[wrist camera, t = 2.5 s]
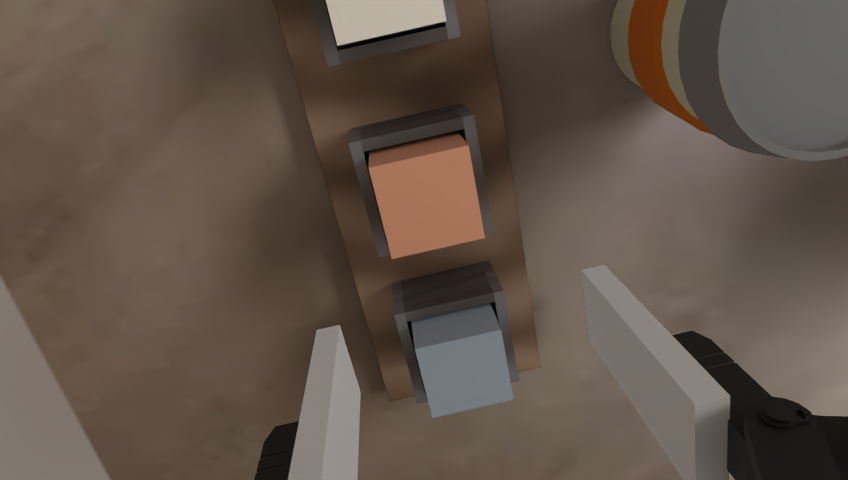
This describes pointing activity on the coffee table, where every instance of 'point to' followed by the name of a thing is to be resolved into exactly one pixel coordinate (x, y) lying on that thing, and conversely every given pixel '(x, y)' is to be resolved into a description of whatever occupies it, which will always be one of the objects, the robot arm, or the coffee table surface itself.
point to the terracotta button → (426, 194)
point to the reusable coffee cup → (744, 69)
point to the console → (402, 122)
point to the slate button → (462, 360)
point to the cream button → (381, 17)
